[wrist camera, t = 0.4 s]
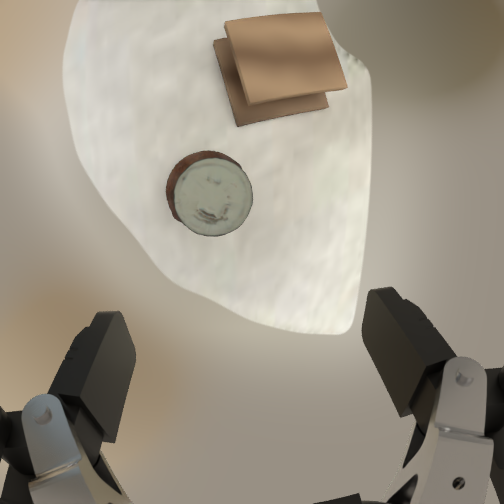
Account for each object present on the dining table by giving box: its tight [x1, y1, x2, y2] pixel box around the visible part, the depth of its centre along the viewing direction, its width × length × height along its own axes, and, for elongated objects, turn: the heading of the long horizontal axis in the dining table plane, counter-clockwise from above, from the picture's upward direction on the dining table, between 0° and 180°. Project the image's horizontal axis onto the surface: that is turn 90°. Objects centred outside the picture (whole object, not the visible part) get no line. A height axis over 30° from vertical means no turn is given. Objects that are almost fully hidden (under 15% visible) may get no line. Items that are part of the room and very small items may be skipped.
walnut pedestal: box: [213, 12, 348, 127], centre depth 27 cm, size 11×11×8 cm
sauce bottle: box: [166, 151, 253, 236], centre depth 24 cm, size 7×6×20 cm
